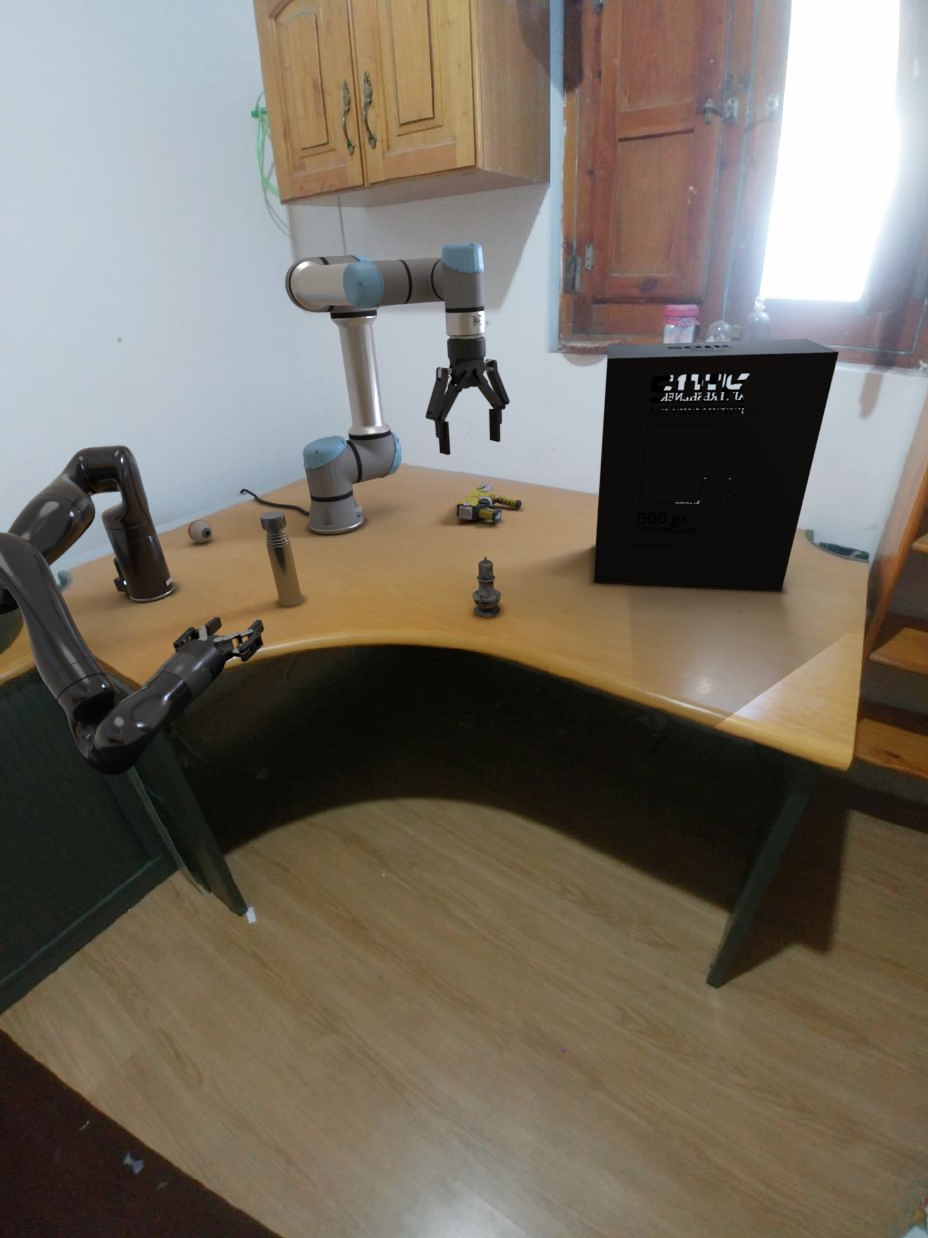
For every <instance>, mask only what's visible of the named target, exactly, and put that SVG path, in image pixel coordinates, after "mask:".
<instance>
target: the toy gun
mask: <svg viewBox="0 0 928 1238" xmlns="http://www.w3.org/2000/svg"><path fill="white" fill-rule="evenodd" d="M493 488H494V486H493V483H490V482H489V483H488V484H487V482H483V483H482V484H480V485H479V486H478V487H476V488H475V489H473V490H472V491H471V492H470V493H469V494H468V495H467V496H465V498H463V499H462V500H461V501H459V502H458V503H457V504H456V507H455V508H456V510H455V513H456V514H455V516H456V517H457V518H458V519H460V520H461V521H464V522H465V521H469V520H470V521H475V520H480V519H487V520H489V521H492V524H493V525H494V524H496V523H498V522H500V521H501V520H502V513H503V512H502V510H503V509H502V508H500V507H498V508H495V507H494V505H496V504H498V505H502V506H506V507H511V508H515V509H517V510H518V509H521V507H522V505H523V503H522V500H521V499H515V498H511V497H507V496H503V495H499V496H498V497H496V496H495V495H496V494H494V493H493V491H491V490H494V489H493Z"/></svg>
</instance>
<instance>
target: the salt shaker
mask: <svg viewBox="0 0 928 1238" xmlns="http://www.w3.org/2000/svg"><path fill="white" fill-rule="evenodd" d="M477 566H478V567H477V568H478V569H477V570H478V575H477V577H476V580H477V581H478V589H476V590H474V591H473V592H472V594H471V597H472V599H473V602H474V603H475V605H476V607H474V611H473V612H474V614H475V615H477V616H479V617H483V618H490V617H494V616H497V615H499V614H500V612H501V607H500V606H499V605H498V604H499V602H500V601H501V597H502V592H501V591H500V590H498V589H496V588H495V579H496V576H495V575H494V563H493V562H492V560H489V559H488V557H487V556H485V555H484V557H483V559H482V560H480V561H479V562H478V565H477Z"/></svg>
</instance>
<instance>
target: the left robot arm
mask: <svg viewBox="0 0 928 1238" xmlns="http://www.w3.org/2000/svg"><path fill="white" fill-rule="evenodd" d="M110 493H111V494H112V493H120V497H121V501H119V502H118V503H117V504H114V505H112V506H110V507H108V508H106V509H105V510H103V511H102V513H101V515H100V518H101V522H102V525H103V527H104V529H105V532H106V535H107V538H108V540H109V543H110V546H111V548H112V551H113V554H114V556H115V558H113V560H112V561H113V563H114V567H115V570H116V572H117V575H118V576H117V577H116V578H114V579H113V584H114V586H115V588H116V590H117V592H118V593H125V596H126V598H127V599H130V600H131V601H132V602H136V603H149V602H154V601H158V600H161V599H163V598H165V597H168V596H170V595H171V594H172V593H173V592H174V591H175V590H176V586H175V584H174V582H173V581H174V578H173V576H172V575H171V572H170V569H169V566H168V564H167V560H166V558H165V555H164V551H163V548H162V545H161V542H160V539H159V536H158V533H157V529H156V526H155V523H154V521H153V518H152V514H151V512H150V508H149V501H148V497H147V494H146V490H145V487H144V483H143V479H142V475H141V472H140V468H139V464H138V461H137V459H136V457H135V454H134V453H133V451H132V450H131V449H130V448H129V447H128V446H126V445H123V444H114V445H113V444H112V445H102V446H101V445H100V446H89V447H85V448H81V449H79V450H78V451H76V452H75V453H74V455H72V457H71V458H70V460H69V461H68V462H67V464H66V465H65V467H64V468H63V469H62V471H61V472H60V473H59V474H58V475H57V476H56V477H55V478H54V479H53V480H52V481H51V482H50V483H49V484H48V485H47V486H46V487H45V488H43V489H42V490H41V491H39V492H38V493H37V494H36V495H35V496H34V497H32V498H31V499H30V501H28V502H27V504H25V506H23V508H22V510H20V512H19V513H18V515H17V516H16V517H15V520H14V521H13V522H12V524H11V525H10V527H9V529H7V532H6V531H5V532H4V531H0V616H3V615H7V614H11V613H14V612H16V611H18V610H20V612H21V615H22V617H23V620H24V623H25V626H26V631H27V634H28V638H29V639H28V640H29V644H30V649H31V653H32V657H33V660H34V664H35V667H36V670H37V671H38V674H39V677H40V678H41V680H42V682H43V683H44V685H45V686H46V688H47V689H48V691H49V692H50V694H51V695H52V697H53V698H54V699H55V701H56V702H57V704H58V705H59V707H60V708H61V709H62V711H63V712H64V714H65V717H66V720H67V723H68V727H69V729H70V733H71V735H72V736H73V739H74V742H75V744H76V747H77V749H78V751H79V753H80V755H81V756H82V758H83V760H84V761H85V762H86V764H87V765H88V766H89V767H90V768H92V769H93V770H94V771H96V772H97V773H99V774H102V775H107V776H119V775H123V774H124V773H126V772H128V771H129V770H131V769H132V768H133V767H134V766H135V765H136V764H137V762H138V761H139V759H140V758H141V756H143V754H144V752H145V750H147V748H148V746H150V744H151V743H152V742H153V740H154V739H155V738H156V737H157V736H158V735H159V733H160V732H161V731H162V730H163V729H164V728H165V727H166V726H167V725H169V724H171V723H172V722H173V721H175V720H176V719H177V718H178V717H179V716H180V714H182V713H183V712H184V711H185V710H186V708H187V707H189V706H190V705H191V704H192V703H193V702H194V701H195V700H197V699H198V698H199V697H200V696H201V695H202V694H203V693H204V692H205V691H206V690H207V689H208V687H210V686H211V684H212V683H213V682H214V681H215V680H216V679H217V678H218V677H219V676H220V675H221V674H222V672H223V670H224V668H225V665H226V663H227V662H228V661H230V660H232V659H233V658H240V661H241V662H242V663H245V662H248V661H249V660H250V659H251V658H252V657H253V656H254V655H256V653H257V652H258V651H259V650H260V649H261V648H262V647H263V646H264V641H263V638H262V633H263V632H264V631H265V627H264V623H263V620H262V619H256V620H254V621H253V623H252V624H251V625H250V626H249V627H248V628H247V629H246V630H244V631H241V632H238V631H234V632H232V633H229V634H226V635H220V634H219V635H218V634H216V633H217V632H218V631H219V630H220V629H221V628H222V626H223V625H222V624H223V623H222V620H221V618H220V616H214V617H213V618H212V619H210V620H209V621H208V622H207V623H206V624H204V625H201V626H198V628H195V627H194V626H190V627H188V628H186V630H185V631H184V632H183V633H182V634H181V635H180V636H179V637H178V638H177V639H176V640H174V641H173V643H172V646H173V649H174V653H173V654H171V656H170V657H169V658H168V659H166V661H164V662H163V663H162V664H161V665H160V666H159V668H158V669H157V670H156V672H155V673H154V674H153V675H152V676H150V678H148V679H147V680H146V681H145V682H143V684H141V686H139V688H138V689H137V690H136V691H135V692H133V693H131V694H129V695H128V696H126V697H124V698H123V699H122V700H120V701H119V702H118V703H115V701H116V700H115V699H116V696H117V689H116V686H115V684H114V682H113V680H112V679H111V677H110V676H109V674H108V672H107V671H106V670H105V669H104V667H103V666H102V665H101V662H100V661H99V660H98V659H97V657H96V656H95V655H94V653H93V652H92V650H91V649H90V646H88V643H87V642H86V641H85V639H84V637H83V635H82V634H81V632H80V630H79V628H78V627H77V625H76V622H75V620H74V618H73V616H72V614H71V612H70V609H69V607H68V605H67V602H66V601H65V599H64V596H63V594H62V591H61V590H60V588H59V585H58V583H57V581H56V579H55V576H54V574H53V572H52V569H51V566H52V565H53V564H54V563H55V562H57V561H58V560H59V559H60V558H61V557H62V556H63V555H64V554H65V553H67V552H68V551H69V550H70V549H71V548H72V546H74V545H75V543H76V542H77V541H79V540H80V539H81V537H83V535H84V534H85V533H86V532H87V531H88V530H89V528H90V527H91V526H92V524H93V522H94V521H95V518H96V505H95V503H94V500H93V498H92V497H93V496H95V495H100V494H110ZM244 638H247V639H246V640H245V641H243V639H244ZM233 640H235V641H236V646H235V645H234V643H233ZM234 646H235V647H234Z"/></svg>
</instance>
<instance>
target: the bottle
mask: <svg viewBox="0 0 928 1238" xmlns="http://www.w3.org/2000/svg"><path fill="white" fill-rule="evenodd" d="M265 547H266V550H267V554H268V558H269V562H270V567H271V571H272V576H273V581H274V584H275V588H276V594H277V597H278V601H279V604H280V606H281V607H285V608H290V607H294V606H297V605H299V604H301V603H302V602H303V597H302V592H301V588H300V587H301V586H300V582H299V578H298V574H297V573H298V572H297V568H296V564H295V559H294V553H293V550H292V544H291V540H290V537H289V535H288V534H287V531H286V529H285V527H284V528H283V529H280V530H276V531H265Z"/></svg>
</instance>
